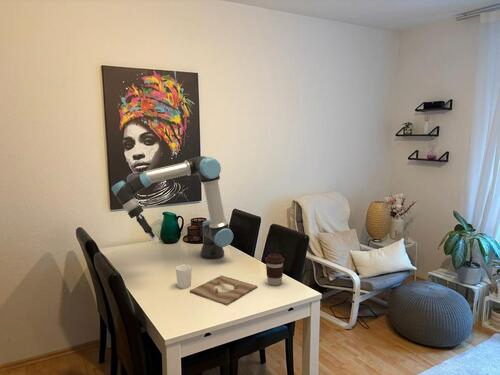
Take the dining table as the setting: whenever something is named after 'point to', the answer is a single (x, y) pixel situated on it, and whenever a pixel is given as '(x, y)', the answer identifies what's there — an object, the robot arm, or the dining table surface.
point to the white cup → (183, 276)
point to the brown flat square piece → (223, 289)
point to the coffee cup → (274, 269)
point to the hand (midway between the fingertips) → (156, 242)
